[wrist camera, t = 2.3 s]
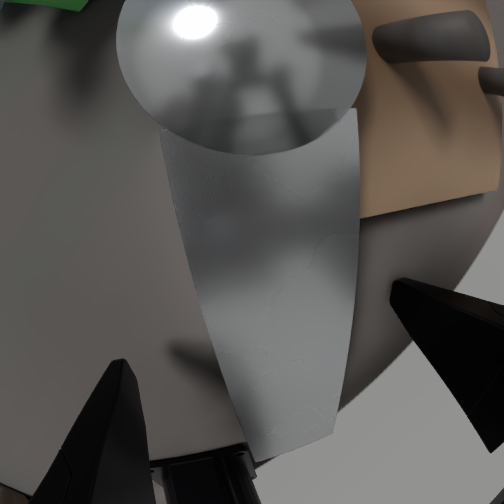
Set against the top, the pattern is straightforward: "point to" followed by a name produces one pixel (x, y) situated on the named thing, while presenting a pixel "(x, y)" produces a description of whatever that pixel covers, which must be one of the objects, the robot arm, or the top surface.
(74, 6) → the gear
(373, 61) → the peg rack
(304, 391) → the ball knob lever
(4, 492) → the plant pot
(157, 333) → the top surface
